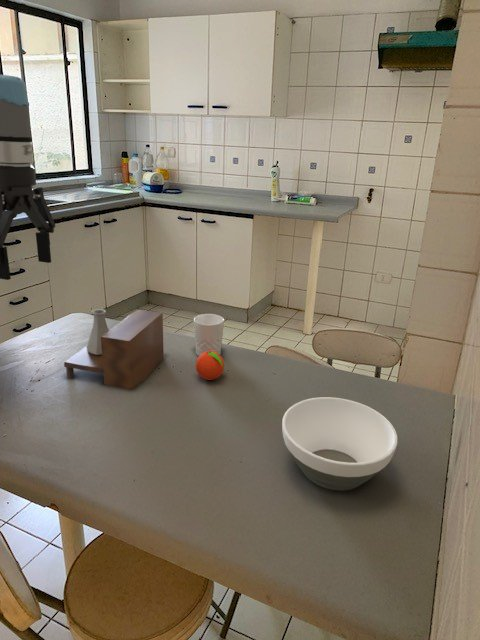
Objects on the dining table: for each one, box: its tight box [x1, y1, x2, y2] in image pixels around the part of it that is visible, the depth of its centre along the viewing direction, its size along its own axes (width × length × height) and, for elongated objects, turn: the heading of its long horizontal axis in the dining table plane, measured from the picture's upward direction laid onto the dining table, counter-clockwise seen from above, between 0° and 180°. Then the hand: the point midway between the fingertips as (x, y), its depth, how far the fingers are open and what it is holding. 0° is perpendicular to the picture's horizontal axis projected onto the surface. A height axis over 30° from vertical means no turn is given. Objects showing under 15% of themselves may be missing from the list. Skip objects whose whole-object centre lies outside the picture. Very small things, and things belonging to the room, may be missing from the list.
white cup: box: [193, 313, 225, 357], centre depth 124 cm, size 8×8×10 cm
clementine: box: [195, 351, 225, 381], centre depth 111 cm, size 8×7×7 cm
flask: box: [86, 308, 110, 355], centre depth 112 cm, size 7×7×10 cm
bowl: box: [281, 396, 398, 491], centre depth 82 cm, size 20×20×10 cm
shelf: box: [63, 309, 165, 391], centre depth 113 cm, size 17×18×13 cm
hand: (25, 269), depth 98 cm, fingers open, 13 cm apart
